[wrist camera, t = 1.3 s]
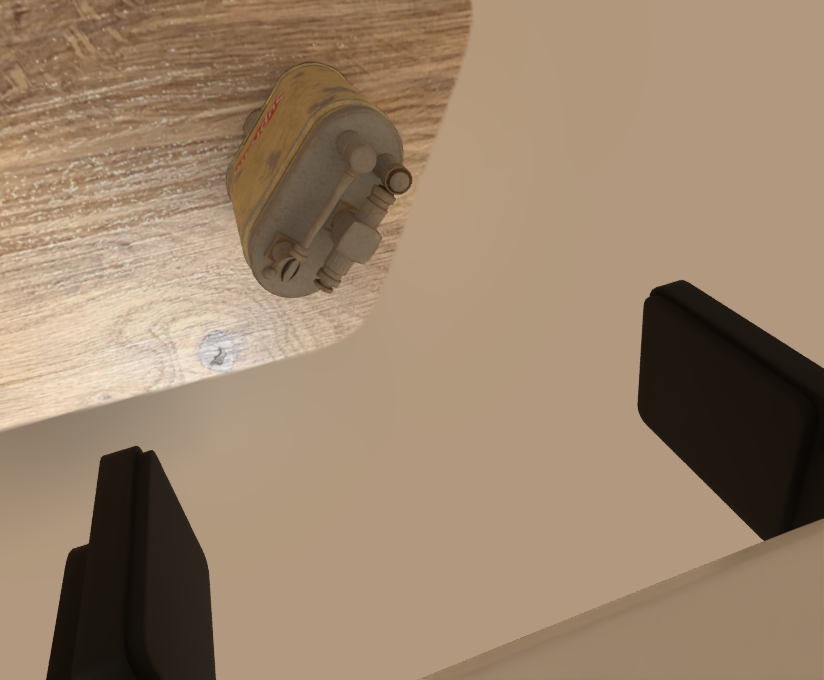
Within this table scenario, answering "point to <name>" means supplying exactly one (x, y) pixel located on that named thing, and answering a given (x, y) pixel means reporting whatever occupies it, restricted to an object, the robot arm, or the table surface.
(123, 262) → the table surface
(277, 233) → the lighter
